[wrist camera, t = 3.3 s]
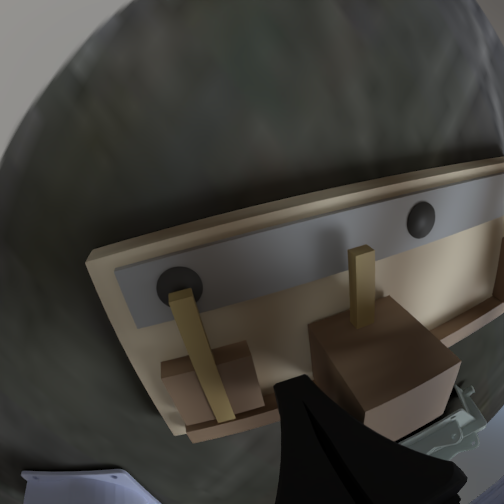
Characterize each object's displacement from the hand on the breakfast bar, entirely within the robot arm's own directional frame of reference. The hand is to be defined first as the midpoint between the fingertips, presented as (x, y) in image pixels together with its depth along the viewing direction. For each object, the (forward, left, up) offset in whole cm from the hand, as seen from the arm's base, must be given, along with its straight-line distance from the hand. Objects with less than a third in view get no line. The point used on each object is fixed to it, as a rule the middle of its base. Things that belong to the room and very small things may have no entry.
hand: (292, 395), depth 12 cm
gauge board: (+5, +1, -3) cm, 6 cm away
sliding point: (+4, +2, -2) cm, 4 cm away
